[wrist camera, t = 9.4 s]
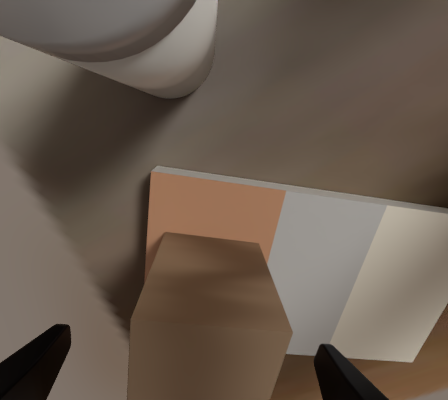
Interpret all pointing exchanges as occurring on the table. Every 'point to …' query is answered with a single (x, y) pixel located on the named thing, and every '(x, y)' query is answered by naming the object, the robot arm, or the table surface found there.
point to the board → (322, 256)
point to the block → (207, 323)
